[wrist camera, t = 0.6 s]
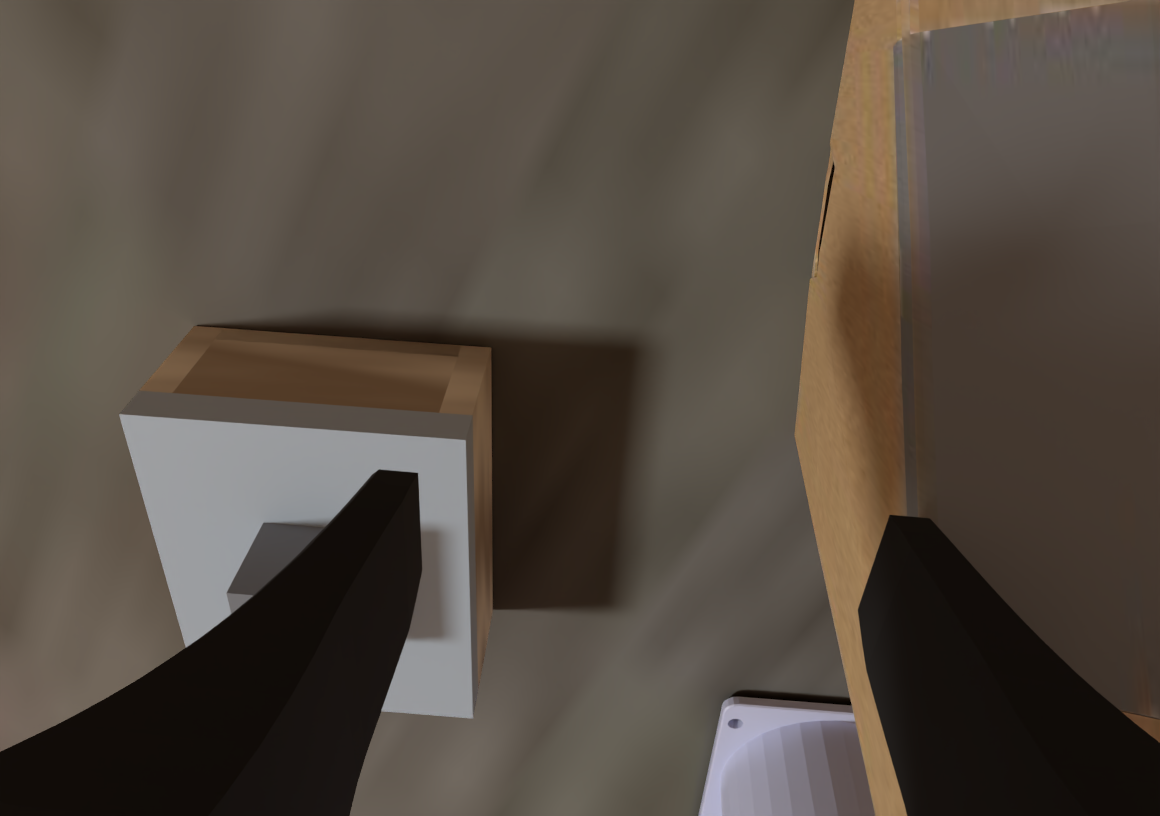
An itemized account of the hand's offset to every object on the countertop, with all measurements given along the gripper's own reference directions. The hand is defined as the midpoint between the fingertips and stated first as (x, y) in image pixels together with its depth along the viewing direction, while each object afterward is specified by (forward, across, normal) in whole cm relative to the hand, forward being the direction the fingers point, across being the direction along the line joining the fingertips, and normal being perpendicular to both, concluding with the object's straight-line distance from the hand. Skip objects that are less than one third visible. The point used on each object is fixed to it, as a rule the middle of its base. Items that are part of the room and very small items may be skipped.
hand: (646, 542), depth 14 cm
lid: (+7, +8, +8) cm, 13 cm away
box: (+10, +8, +8) cm, 15 cm away
